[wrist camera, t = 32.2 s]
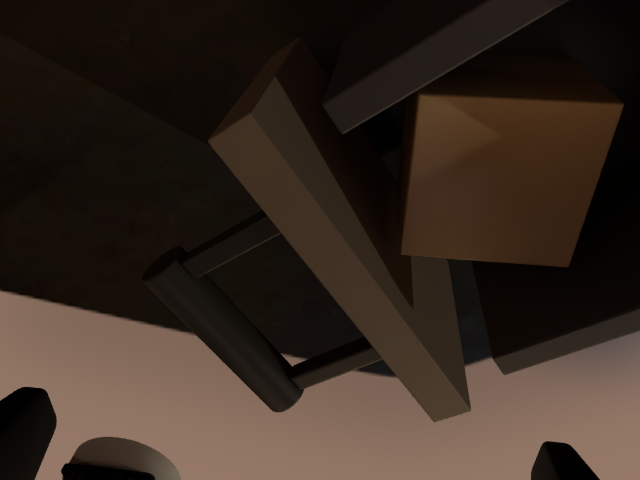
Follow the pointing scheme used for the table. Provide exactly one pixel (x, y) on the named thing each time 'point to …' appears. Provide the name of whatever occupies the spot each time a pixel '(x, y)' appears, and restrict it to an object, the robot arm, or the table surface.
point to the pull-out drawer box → (383, 205)
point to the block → (503, 159)
